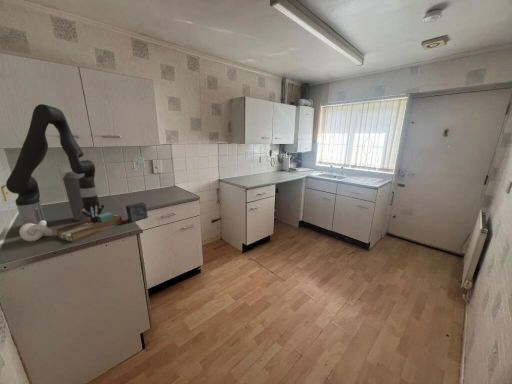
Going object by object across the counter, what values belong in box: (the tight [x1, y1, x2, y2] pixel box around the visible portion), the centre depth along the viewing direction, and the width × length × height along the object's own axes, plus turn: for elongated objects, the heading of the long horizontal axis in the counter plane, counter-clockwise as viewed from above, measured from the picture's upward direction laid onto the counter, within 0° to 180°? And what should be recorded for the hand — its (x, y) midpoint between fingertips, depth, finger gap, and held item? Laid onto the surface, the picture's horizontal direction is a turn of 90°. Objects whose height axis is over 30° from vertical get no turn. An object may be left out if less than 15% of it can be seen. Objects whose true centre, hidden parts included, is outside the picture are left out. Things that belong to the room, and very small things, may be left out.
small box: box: [125, 202, 149, 223], centre depth 140 cm, size 11×6×10 cm, turn 141°
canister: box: [62, 171, 91, 222], centre depth 137 cm, size 13×13×35 cm
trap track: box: [55, 214, 123, 243], centre depth 124 cm, size 14×27×5 cm, turn 158°
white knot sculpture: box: [18, 219, 53, 242], centre depth 113 cm, size 11×12×9 cm
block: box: [97, 212, 114, 223], centre depth 130 cm, size 5×7×4 cm
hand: (95, 222), depth 125 cm, fingers closed
